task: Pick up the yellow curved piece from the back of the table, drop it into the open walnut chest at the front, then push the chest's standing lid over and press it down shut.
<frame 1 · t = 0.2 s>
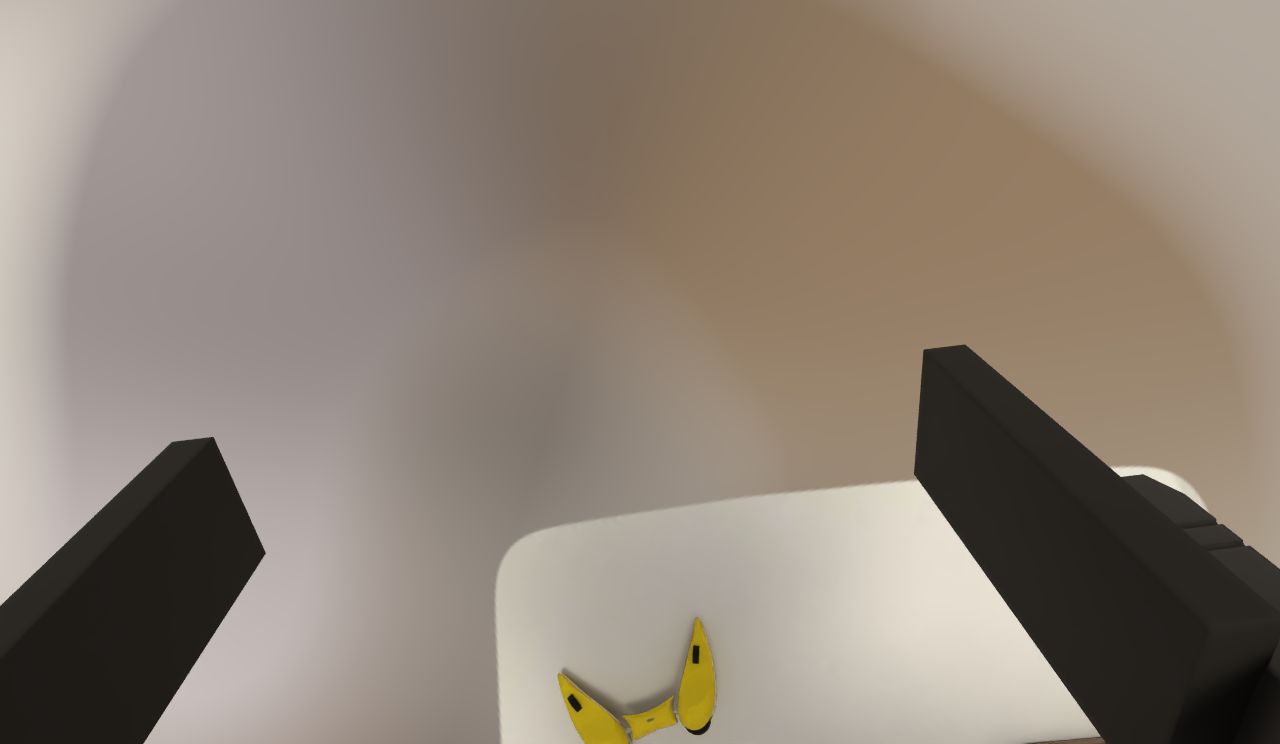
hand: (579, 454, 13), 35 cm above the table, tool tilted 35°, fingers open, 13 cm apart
yellow curved piece: (645, 685, 46), on the table
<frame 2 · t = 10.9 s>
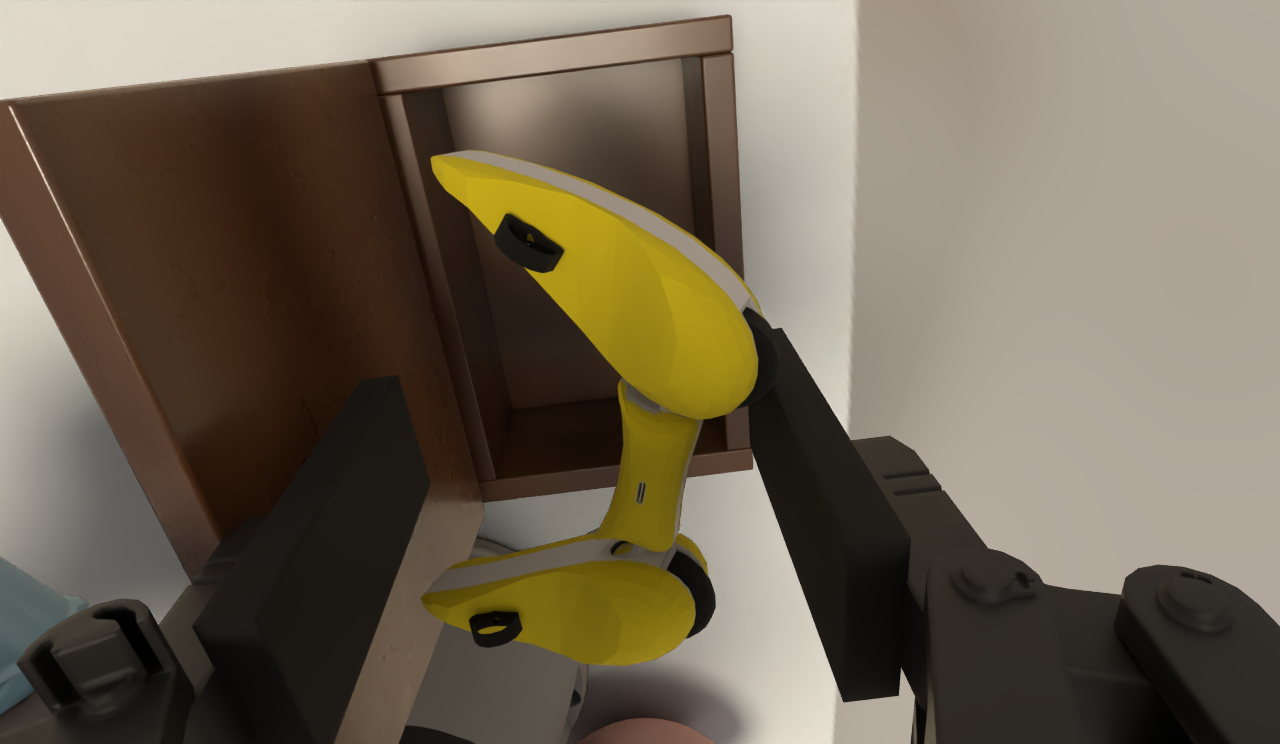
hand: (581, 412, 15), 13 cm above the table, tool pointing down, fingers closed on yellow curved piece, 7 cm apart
lid: (348, 410, 16), point 12 cm above the table, hinge at 95.2°, touching gripper
yellow curved piece: (582, 399, 15), point 13 cm above the table, touching gripper
chest: (588, 243, 26), on the table
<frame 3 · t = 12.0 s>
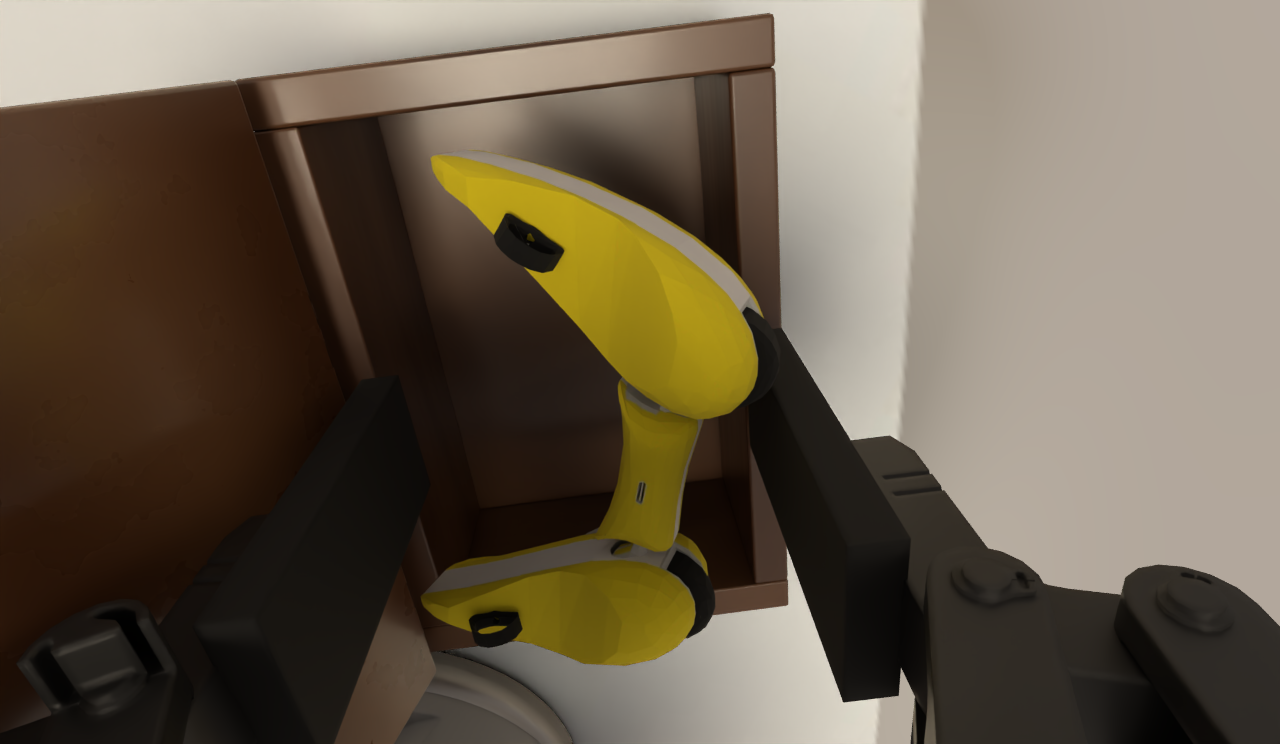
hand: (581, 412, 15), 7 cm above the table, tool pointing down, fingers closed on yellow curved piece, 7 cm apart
lid: (126, 625, 10), point 12 cm above the table, hinge at 107.1°, touching gripper, hand
yellow curved piece: (582, 399, 15), point 6 cm above the table, touching gripper
chest: (573, 305, 21), on the table
when the fingers open (6 cm above the table, at t = 15.7 s): yellow curved piece stays where it is, point 5 cm above the table.
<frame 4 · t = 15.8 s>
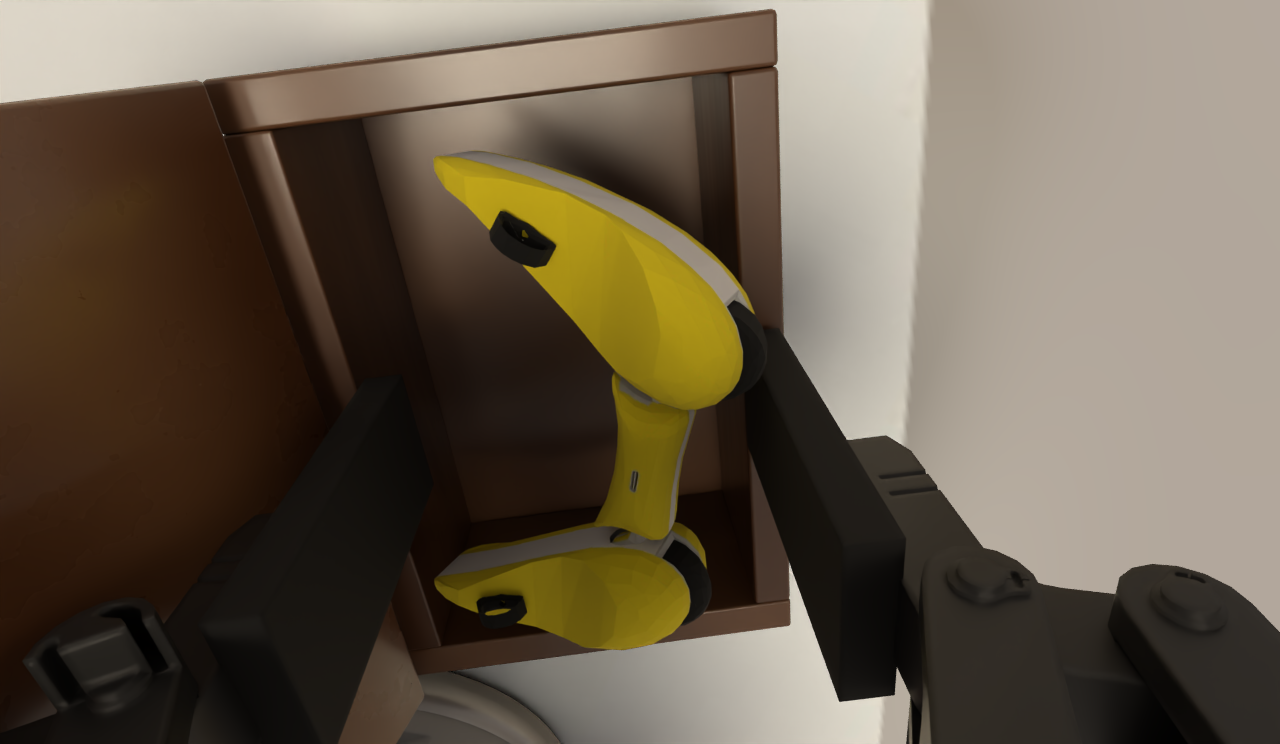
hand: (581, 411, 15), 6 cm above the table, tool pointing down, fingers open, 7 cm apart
lid: (79, 667, 10), point 11 cm above the table, hinge at 107.7°, touching gripper, hand
yellow curved piece: (587, 391, 15), point 5 cm above the table
chest: (566, 313, 20), on the table
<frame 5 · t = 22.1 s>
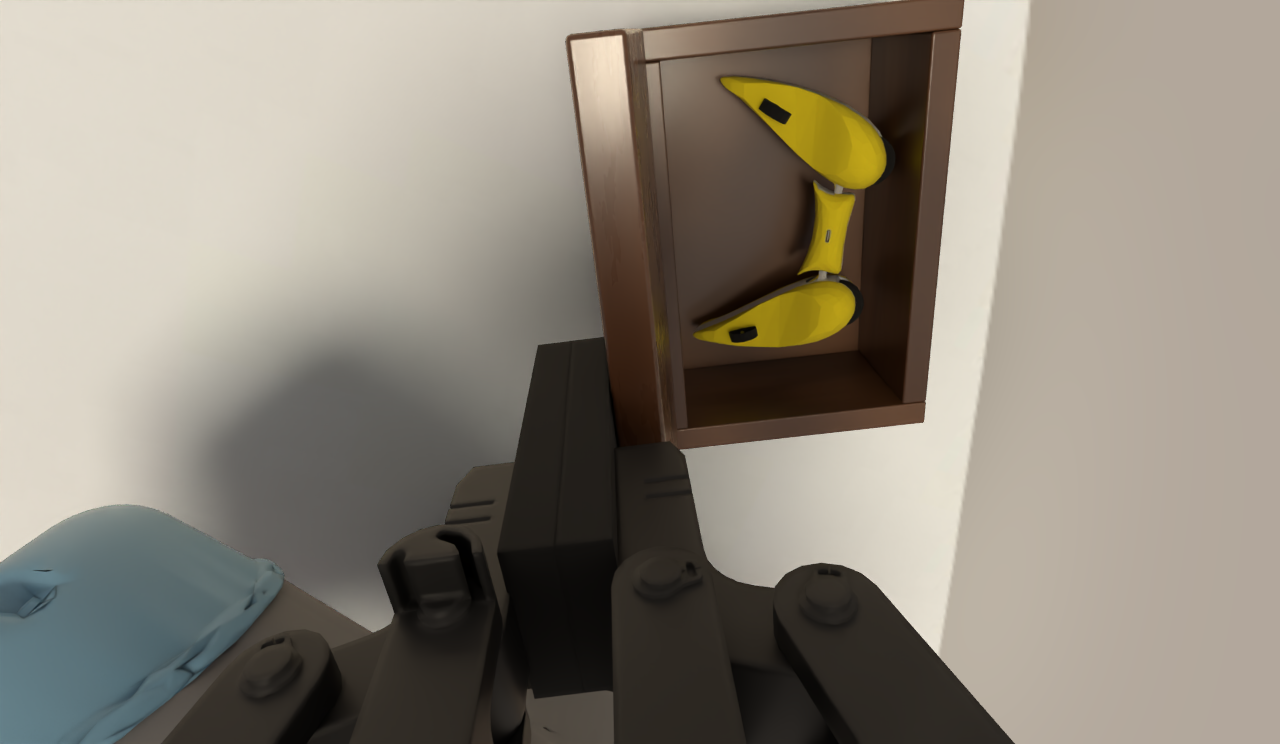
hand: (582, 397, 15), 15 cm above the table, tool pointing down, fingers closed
lid: (647, 341, 18), point 12 cm above the table, hinge at 94.4°, touching gripper
yellow curved piece: (776, 213, 28), point 1 cm above the table, touching chest
chest: (759, 212, 28), on the table
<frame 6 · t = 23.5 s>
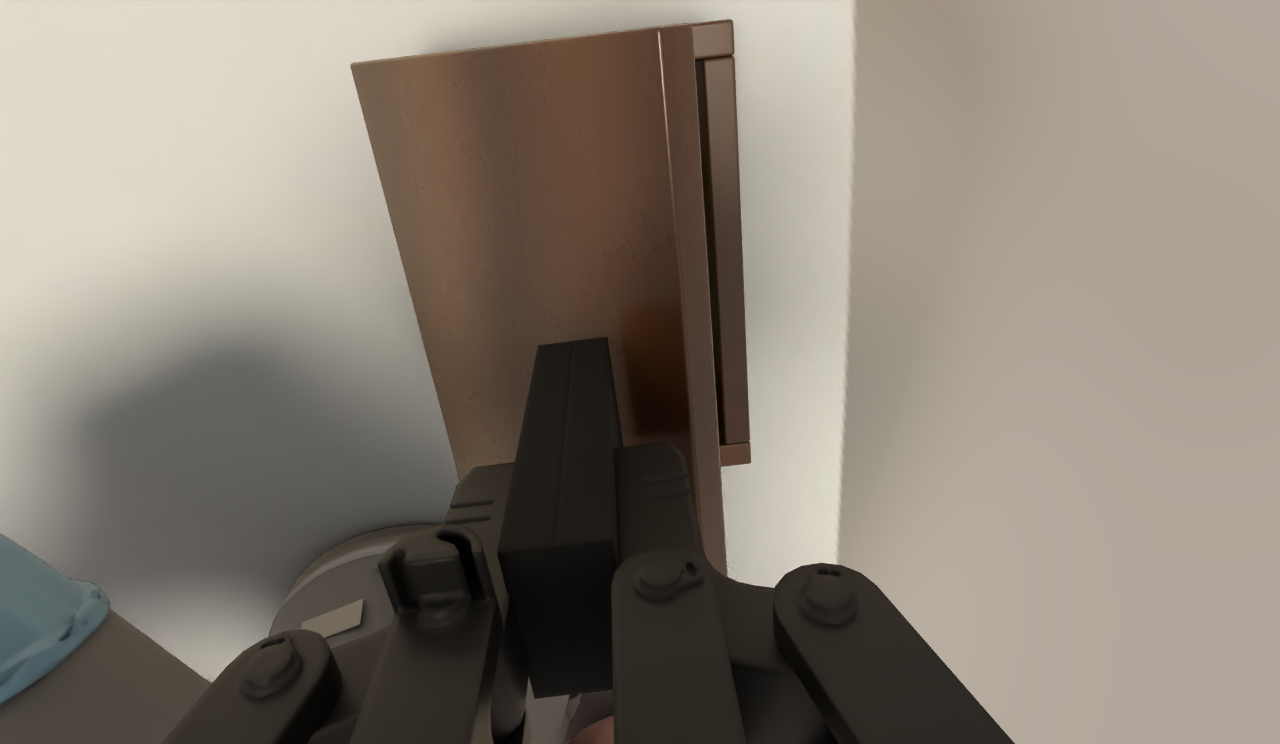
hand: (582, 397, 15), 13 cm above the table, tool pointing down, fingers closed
lid: (540, 353, 18), point 10 cm above the table, hinge at 46.1°, touching gripper
chest: (590, 241, 27), on the table
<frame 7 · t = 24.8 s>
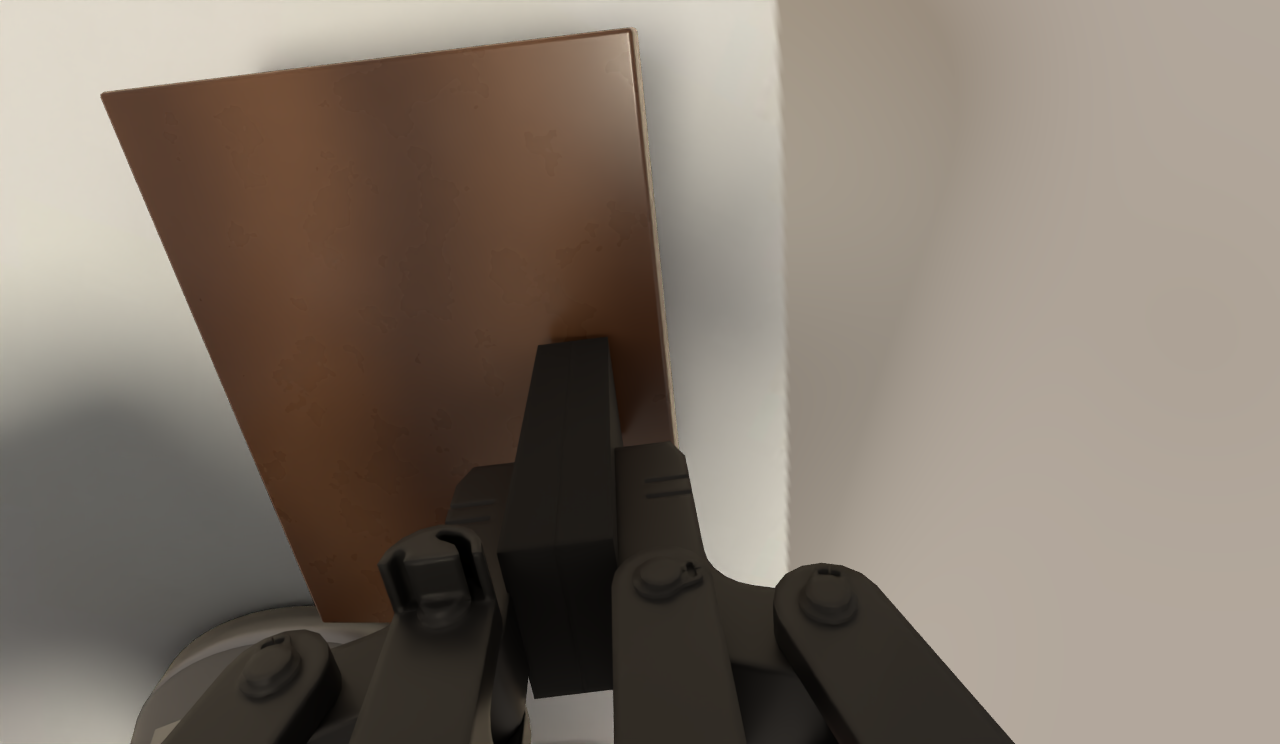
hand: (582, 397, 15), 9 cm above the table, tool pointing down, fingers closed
lid: (445, 389, 16), point 7 cm above the table, hinge at 9.4°, touching gripper
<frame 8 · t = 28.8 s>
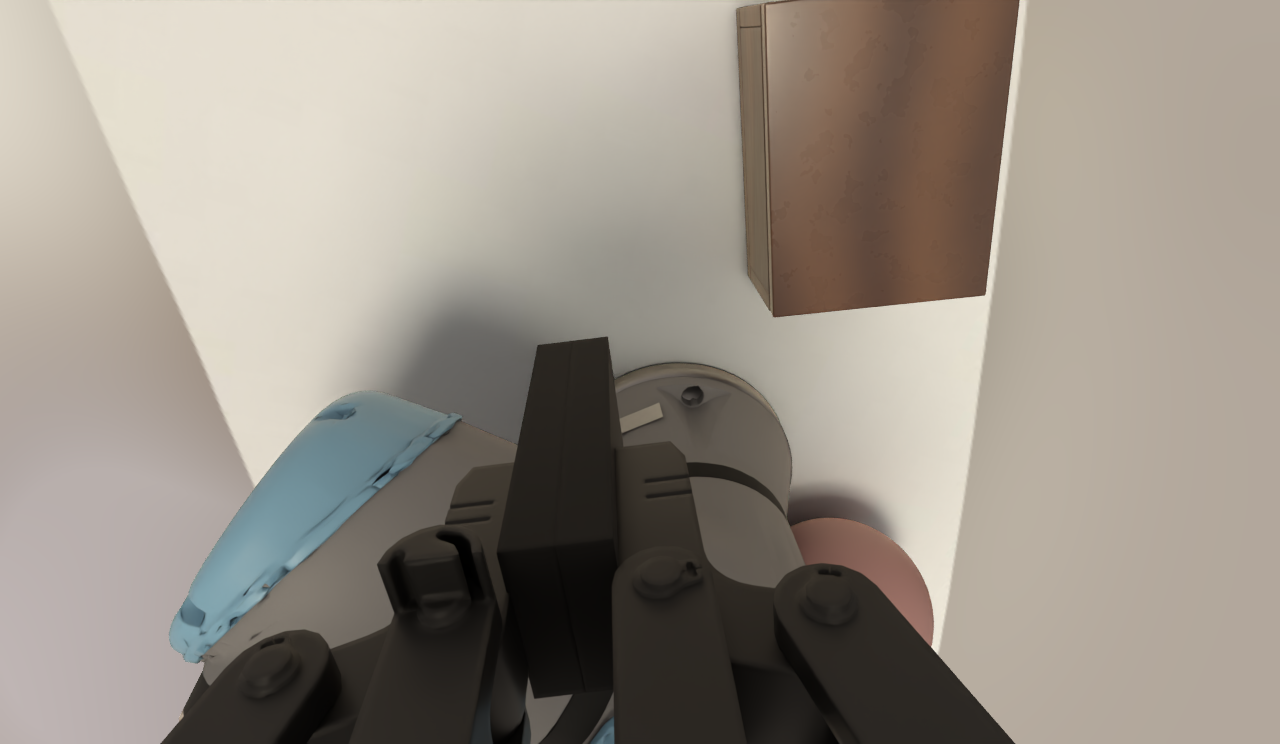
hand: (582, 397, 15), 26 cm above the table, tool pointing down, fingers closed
lid: (882, 161, 32), point 7 cm above the table, hinge at 2.7°
chest: (830, 142, 38), on the table
mortar and pestle: (837, 566, 41), point 8 cm above the table
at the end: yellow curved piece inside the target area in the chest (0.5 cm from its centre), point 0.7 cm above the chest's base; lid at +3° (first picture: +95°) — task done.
